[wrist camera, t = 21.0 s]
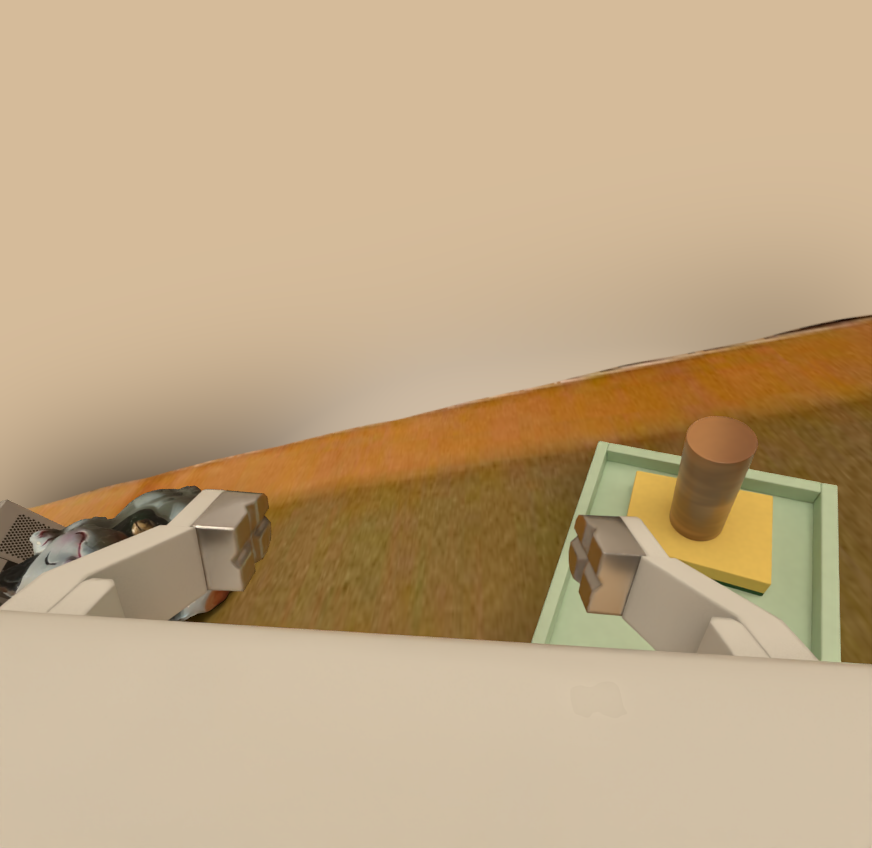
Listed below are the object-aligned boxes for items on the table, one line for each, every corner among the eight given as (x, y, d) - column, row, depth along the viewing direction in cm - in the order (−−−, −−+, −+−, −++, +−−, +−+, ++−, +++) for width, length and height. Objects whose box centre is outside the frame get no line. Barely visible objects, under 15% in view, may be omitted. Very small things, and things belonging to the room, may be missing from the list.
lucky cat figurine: (268, 575, 38) (91, 610, 25) (196, 663, 40) (-1, 735, 27) (202, 466, 44) (36, 451, 32) (143, 545, 46) (-35, 561, 34)
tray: (519, 702, 26) (512, 696, 24) (599, 456, 35) (598, 440, 34) (825, 872, 18) (846, 881, 17) (824, 503, 28) (838, 485, 26)
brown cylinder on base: (619, 556, 29) (623, 470, 21) (635, 484, 32) (643, 387, 24) (762, 597, 25) (830, 510, 17) (764, 511, 28) (823, 404, 20)
